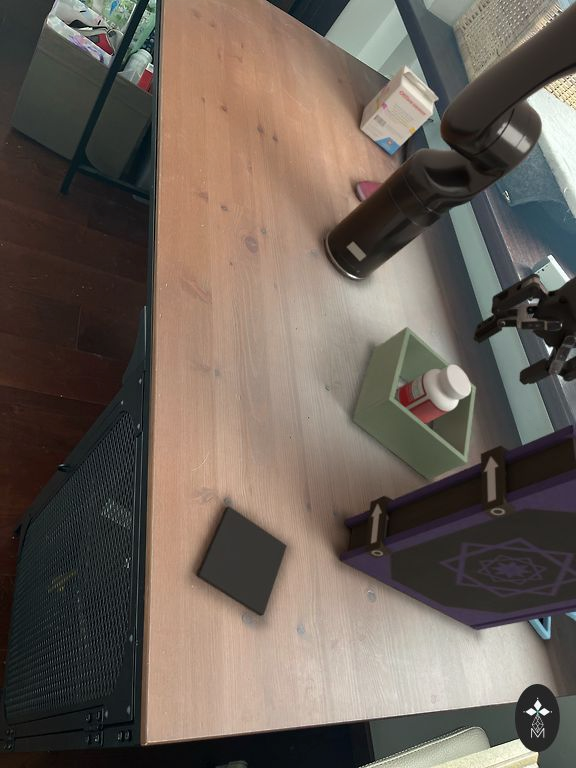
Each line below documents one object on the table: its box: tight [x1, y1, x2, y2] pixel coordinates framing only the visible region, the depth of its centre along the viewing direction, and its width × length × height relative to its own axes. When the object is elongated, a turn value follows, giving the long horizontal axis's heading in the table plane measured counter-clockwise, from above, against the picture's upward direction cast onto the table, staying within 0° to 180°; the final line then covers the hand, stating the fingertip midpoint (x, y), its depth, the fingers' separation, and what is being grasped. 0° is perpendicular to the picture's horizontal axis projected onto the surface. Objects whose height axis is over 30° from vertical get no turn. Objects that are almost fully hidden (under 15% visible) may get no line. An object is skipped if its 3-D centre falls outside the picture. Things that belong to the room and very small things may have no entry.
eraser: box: [354, 180, 383, 203], centre depth 112 cm, size 11×4×2 cm, turn 117°
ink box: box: [359, 64, 439, 156], centre depth 120 cm, size 9×8×13 cm
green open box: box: [352, 326, 477, 481], centre depth 87 cm, size 15×15×7 cm
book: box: [339, 424, 576, 631], centre depth 66 cm, size 24×6×30 cm, turn 77°
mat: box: [196, 506, 287, 617], centre depth 63 cm, size 8×8×1 cm
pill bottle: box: [394, 364, 471, 425], centre depth 85 cm, size 6×6×11 cm
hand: (498, 358), depth 77 cm, fingers open, 8 cm apart
